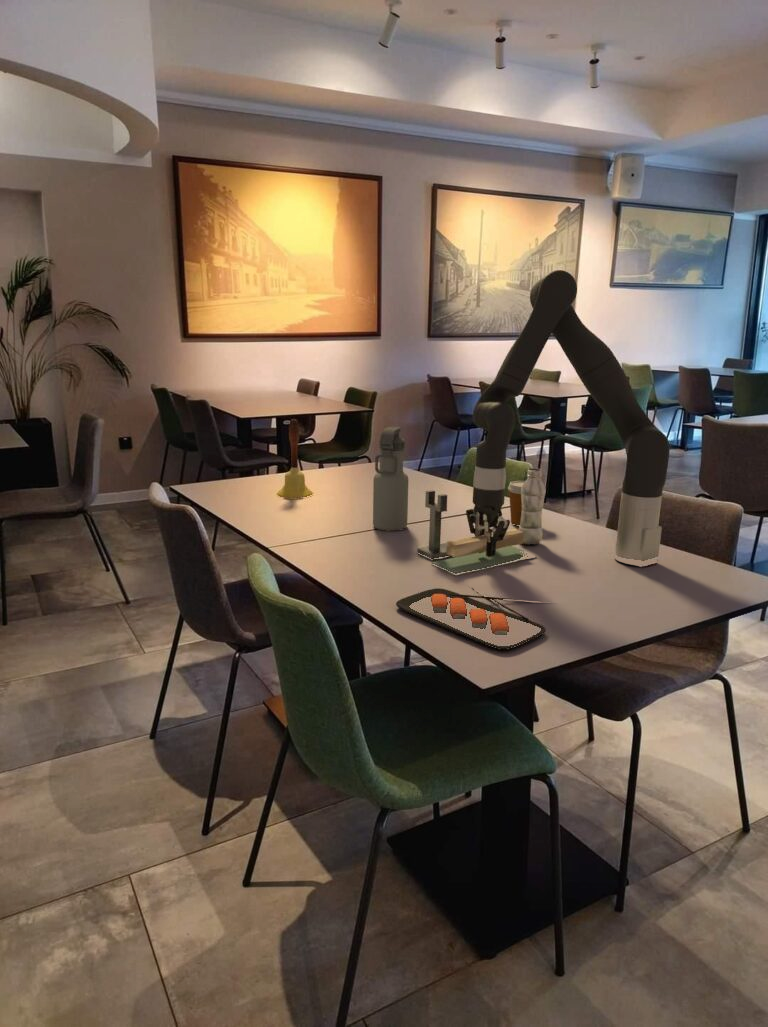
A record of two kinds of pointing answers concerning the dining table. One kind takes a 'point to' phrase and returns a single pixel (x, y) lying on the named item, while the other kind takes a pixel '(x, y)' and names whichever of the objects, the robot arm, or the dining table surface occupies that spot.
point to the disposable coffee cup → (515, 501)
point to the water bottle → (390, 483)
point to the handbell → (294, 469)
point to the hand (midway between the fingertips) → (485, 553)
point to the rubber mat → (480, 560)
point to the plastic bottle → (532, 507)
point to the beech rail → (481, 543)
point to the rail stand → (435, 526)
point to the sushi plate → (460, 611)
